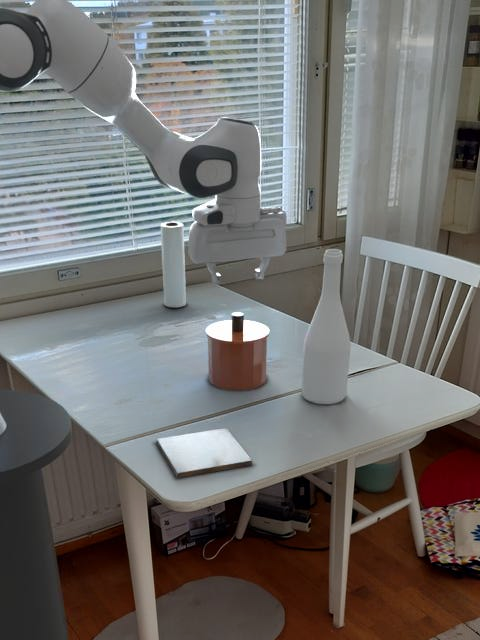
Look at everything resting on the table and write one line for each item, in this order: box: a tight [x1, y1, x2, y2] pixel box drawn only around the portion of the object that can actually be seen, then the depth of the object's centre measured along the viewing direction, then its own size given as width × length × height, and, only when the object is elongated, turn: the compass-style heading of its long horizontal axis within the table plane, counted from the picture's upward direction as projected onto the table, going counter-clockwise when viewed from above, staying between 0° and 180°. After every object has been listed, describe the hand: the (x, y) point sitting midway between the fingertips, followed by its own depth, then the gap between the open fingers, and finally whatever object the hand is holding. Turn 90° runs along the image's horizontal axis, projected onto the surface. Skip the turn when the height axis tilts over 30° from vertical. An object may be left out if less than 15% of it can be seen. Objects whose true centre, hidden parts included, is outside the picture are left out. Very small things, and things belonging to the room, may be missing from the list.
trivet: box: [155, 427, 253, 479], centre depth 144 cm, size 14×14×1 cm
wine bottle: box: [300, 248, 352, 405], centre depth 158 cm, size 10×10×30 cm
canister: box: [207, 337, 268, 391], centre depth 171 cm, size 13×13×10 cm
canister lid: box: [205, 311, 271, 344], centre depth 167 cm, size 14×14×5 cm
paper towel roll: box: [160, 220, 187, 308], centre depth 211 cm, size 7×6×21 cm
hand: (238, 281), depth 162 cm, fingers open, 8 cm apart
